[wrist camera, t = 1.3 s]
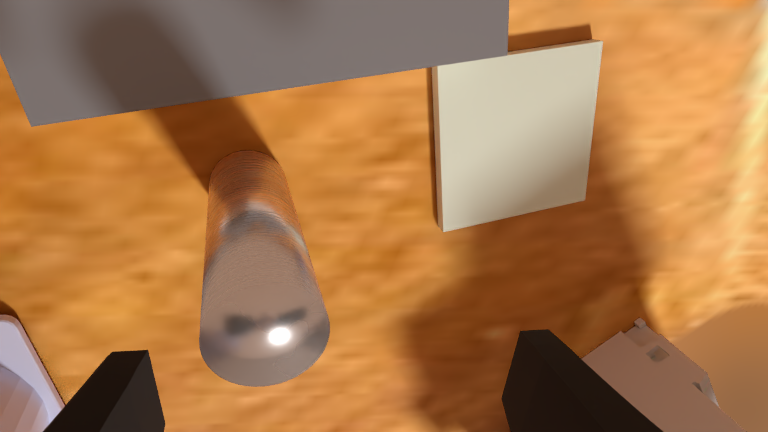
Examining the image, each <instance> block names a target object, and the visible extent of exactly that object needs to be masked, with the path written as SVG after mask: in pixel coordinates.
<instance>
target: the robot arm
mask: <svg viewBox="0 0 768 432" xmlns="http://www.w3.org/2000/svg"><path fill="white" fill-rule="evenodd" d="M502 402H503V406H504V409H505V413H506V417H507V420H508V424H509V427H510V431H511V432H663V431H662V430H661V429H660V428H659V427H657V426H656V425H655V424H654V423H653V422H651V421H650V420H649V419H648V418H647V417H646V416H644V415H643V414H642V413H641V412H640V411H639V410H637V409H636V408H635V407H634V406H633V405H632V404H631V403H629V402H628V401H627V400H626V399H625V398H624V397H623V396H621V395H620V394H619V393H618V392H617V391H616V390H615V389H614V388H612V387H611V386H610V385H609V384H608V383H607V382H606V381H605V380H604V379H602V378H601V377H600V376H599V375H598V374H597V373H596V372H595V371H594V370H593V369H592V368H590V367H589V366H588V365H587V364H586V363H585V362H584V361H583V360H582V359H581V358H579V357H578V356H577V355H576V354H575V353H574V352H573V351H572V350H571V349H570V348H569V347H567V346H566V345H565V344H564V343H563V342H562V341H561V340H560V339H559V338H557V337H556V336H555V335H554V334H553V333H552V332H551V331H549V330H529V331H520V334H519V338H518V341H517V345H516V349H515V352H514V356H513V359H512V363H511V367H510V370H509V374H508V377H507V381H506V384H505V388H504V392H503V395H502ZM164 427H165V420H164V416H163V412H162V407H161V403H160V399H159V395H158V390H157V386H156V382H155V378H154V374H153V369H152V365H151V361H150V357H149V352H148V350H140V351H120V352H112V353H111V354H110V355H108V356H107V357H106V359H105V360H104V361H103V362H102V363H101V364H100V366H99V367H98V368H97V369H96V370H95V372H94V373H93V374H92V375H91V376H90V377H89V379H88V380H87V381H86V382H85V383H84V385H83V386H82V387H81V388H80V389H79V390H78V392H77V393H76V394H75V395H74V396H73V397H72V399H71V400H70V401H69V402H68V403H67V404H66V406H65V405H64V403H63V402H62V400H61V398H60V396H59V394H58V392H57V390H56V389H55V387H54V385H53V383H52V381H51V379H50V377H49V376H48V374H47V372H46V370H45V368H44V366H43V364H42V363H41V361H40V359H39V357H38V355H37V353H36V351H35V350H34V348H33V346H32V344H31V342H30V340H29V339H28V337H27V335H26V333H25V331H24V329H23V327H22V326H21V324H20V322H19V321H18V320H17V319H16V318H14V317H12V316H9V315H0V432H164Z"/></svg>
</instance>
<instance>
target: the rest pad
mask: <svg viewBox="0 0 768 432" xmlns="http://www.w3.org/2000/svg"><path fill="white" fill-rule="evenodd" d="M602 45H603V41H600V40H594V39H592V40H585V41H578V42H572V43H565V44H558V45H551V46H545V47H538V48H531V49H524V50H517V51H511V52H508V55H507V56H502V57H495V58H488V59H481V60H475V61H468V62H461V63H455V64H448V65H441V66H434V67H432V88H433V112H434V137H435V162H436V186H437V211H438V227H439V228H440V229H441V230H442V231H443V232H447V231H451V230H455V229H460V228H464V227H469V226H473V225H478V224H482V223H487V222H491V221H495V220H500V219H504V218H509V217H513V216H518V215H522V214H526V213H531V212H535V211H540V210H544V209H549V208H553V207H558V206H562V205H566V204H571V203H575V202H580V201H584V200H585V197H586V188H587V179H588V170H589V161H590V152H591V143H592V134H593V125H594V117H595V108H596V99H597V90H598V81H599V72H600V63H601V54H602Z"/></svg>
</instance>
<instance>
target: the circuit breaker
mask: <svg viewBox="0 0 768 432" xmlns="http://www.w3.org/2000/svg"><path fill="white" fill-rule="evenodd" d="M634 323H635V326H634V327H633V328H631V329H630V330H629V331H627V332H626V333H623V332H622V331H620V332H618V333H617V334H616V335H614V336H613V337H611V338H610V339H609V340H607V341H606V342H604V343H603V344H601V345H600V346H599V347H597V348H596V349H594V350H593V351H592V352H590V353H589V354H587V355H586V356H585V357H583V358H582V360H583V361H584V362H585V363H586V364H587V365H588V366H589V367H590V368H592V369H593V370H594V371H595V372H596V373H597V374H598V375H599V376H600V377H601V378H602V379H604V380H605V381H606V382H607V383H608V384H609V385H610V386H611V387H612V388H614V389H615V390H616V391H617V392H618V393H619V394H620V395H621V396H623V397H624V398H625V399H626V400H627V401H628V402H629V403H631V404H632V405H633V406H634V407H635V408H636V409H637V410H639V411H640V412H641V413H642V414H643V415H644V416H646V417H647V418H648V419H649V420H650V421H651V422H653V423H654V424H655V425H656V426H657V427H659V428H660V429H661V430H662V431H663V432H747V431H745V430H744V429H743V428H742V427H741V426H740V425H739V424H737V423H736V422H735V421H734V420H733V419H732V418H731V417H729V416H728V415H727V414H726V413H725V412H724V411H723V410H721V409H720V408H719V406H718V403H717V400H716V397H715V394H714V392H713V389H712V386H711V383H710V380H709V377H708V374H707V372H705V371H704V370H703V369H702V368H701V367H699V366H698V365H697V364H696V363H695V362H693V361H692V360H691V359H690V358H689V357H687V356H686V355H685V354H684V353H682V352H681V351H680V350H679V349H678V348H676V347H675V346H674V345H673V344H672V343H670V342H669V341H668V340H667V339H666V338H664V337H663V336H662V335H661V334H660V335H658V334H656V333H655V332H654V331H653V330H652V329H650V328H649V327H648V326H647V325H646V323H645V321H644V320H643V319H641V318H638V319H637V320H635V321H634Z"/></svg>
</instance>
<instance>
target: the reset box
mask: <svg viewBox="0 0 768 432" xmlns="http://www.w3.org/2000/svg"><path fill="white" fill-rule="evenodd" d="M508 19H509V0H0V54H1V57H2V59H3V61H4V64H5V66H6V68H7V71H8V73H9V75H10V78H11V80H12V82H13V85H14V87H15V90H16V92H17V94H18V97H19V99H20V101H21V104H22V106H23V108H24V111H25V113H26V115H27V118H28V120H29V122H30V125H31V127H32V126H39V125H46V124H52V123H59V122H66V121H72V120H79V119H86V118H92V117H99V116H106V115H113V114H119V113H126V112H133V111H139V110H146V109H153V108H160V107H166V106H173V105H180V104H186V103H193V102H200V101H206V100H213V99H220V98H227V97H233V96H240V95H247V94H253V93H260V92H267V91H274V90H280V89H287V88H294V87H300V86H307V85H314V84H320V83H327V82H334V81H341V80H347V79H354V78H361V77H367V76H374V75H381V74H388V73H394V72H401V71H408V70H414V69H421V68H428V67H434V66H441V65H448V64H455V63H461V62H468V61H475V60H481V59H488V58H495V57H502V56H507V55H508Z"/></svg>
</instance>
